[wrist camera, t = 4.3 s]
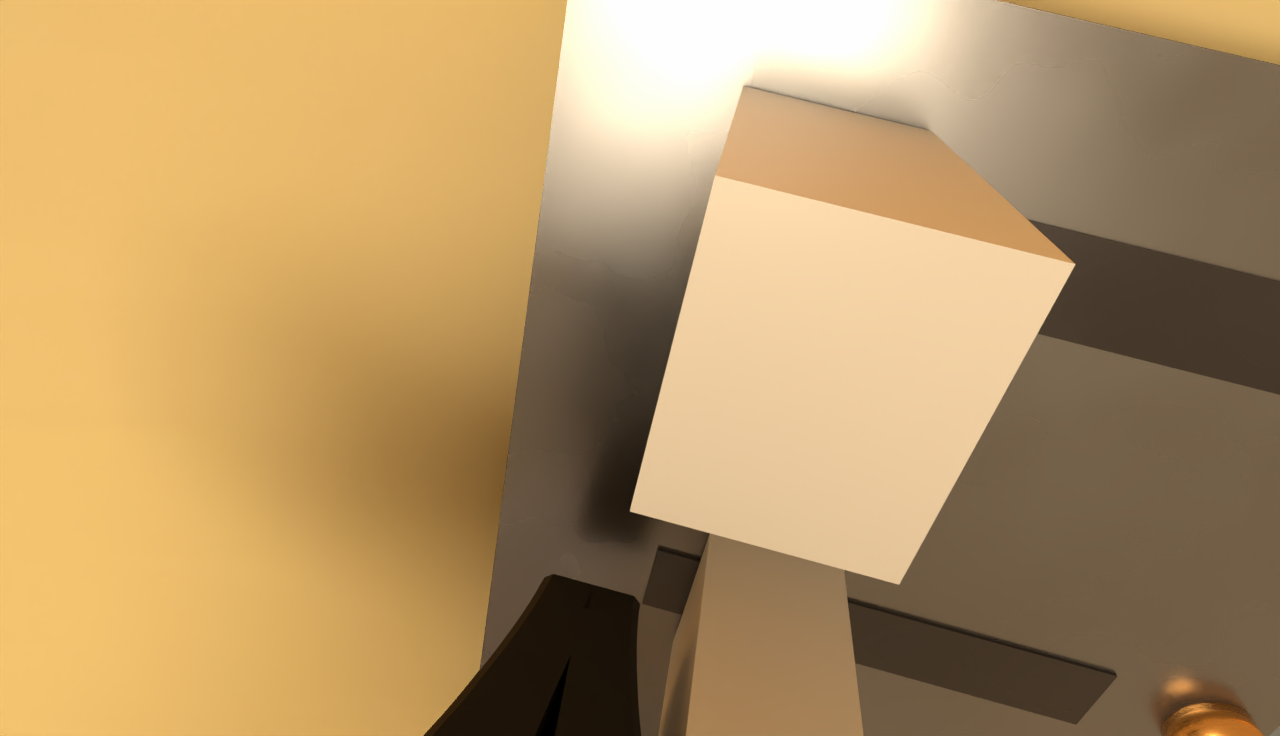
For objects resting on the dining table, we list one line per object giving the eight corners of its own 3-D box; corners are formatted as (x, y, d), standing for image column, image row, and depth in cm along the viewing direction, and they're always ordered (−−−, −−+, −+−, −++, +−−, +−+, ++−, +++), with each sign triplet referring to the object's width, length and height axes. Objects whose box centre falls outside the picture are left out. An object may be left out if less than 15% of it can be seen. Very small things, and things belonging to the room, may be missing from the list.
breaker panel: (985, 896, 16) (1009, 1000, 14) (485, 750, 17) (453, 834, 15) (1676, 162, 8) (1922, 210, 6) (611, -83, 8) (569, -100, 7)
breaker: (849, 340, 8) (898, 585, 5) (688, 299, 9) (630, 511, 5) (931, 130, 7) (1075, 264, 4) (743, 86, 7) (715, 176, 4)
